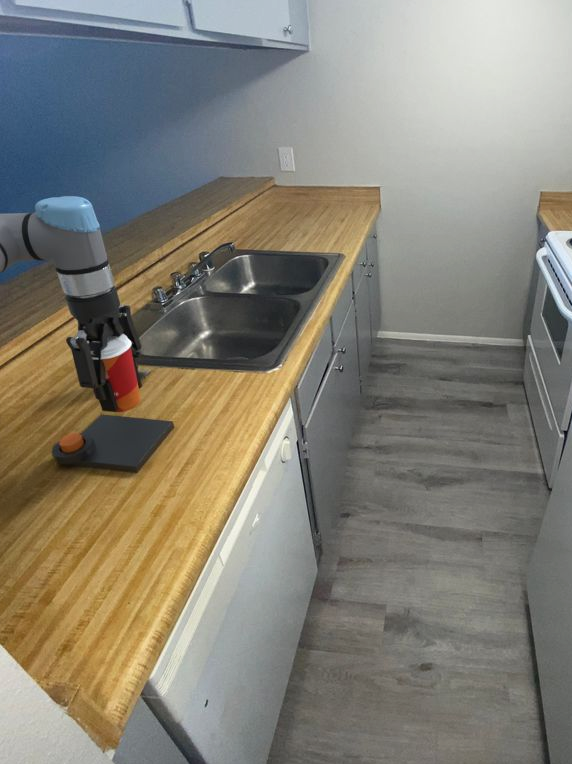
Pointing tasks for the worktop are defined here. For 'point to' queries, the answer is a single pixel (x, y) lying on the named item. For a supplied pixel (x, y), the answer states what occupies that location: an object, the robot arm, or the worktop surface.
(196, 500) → the worktop surface
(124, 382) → the paper cup
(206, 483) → the worktop surface
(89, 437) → the scale
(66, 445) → the tare button
